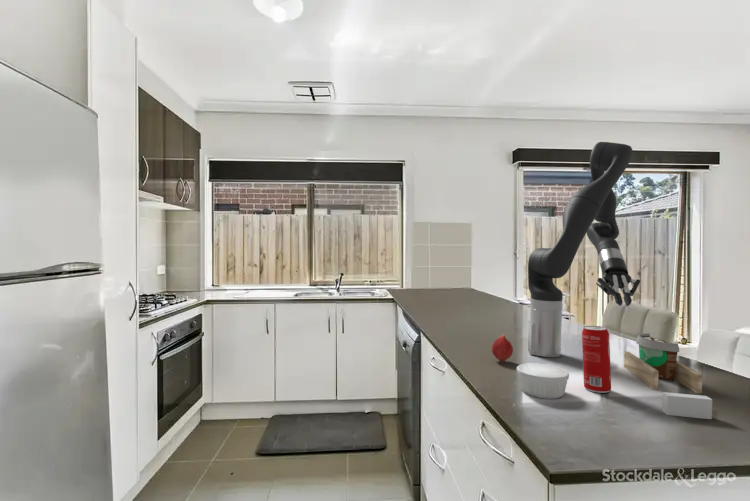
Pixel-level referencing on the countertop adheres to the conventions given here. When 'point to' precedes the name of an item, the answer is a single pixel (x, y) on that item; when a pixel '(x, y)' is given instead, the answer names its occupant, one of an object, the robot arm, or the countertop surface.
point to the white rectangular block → (687, 405)
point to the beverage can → (596, 359)
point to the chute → (651, 375)
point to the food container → (658, 355)
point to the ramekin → (542, 380)
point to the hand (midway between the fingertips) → (624, 304)
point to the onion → (502, 348)
